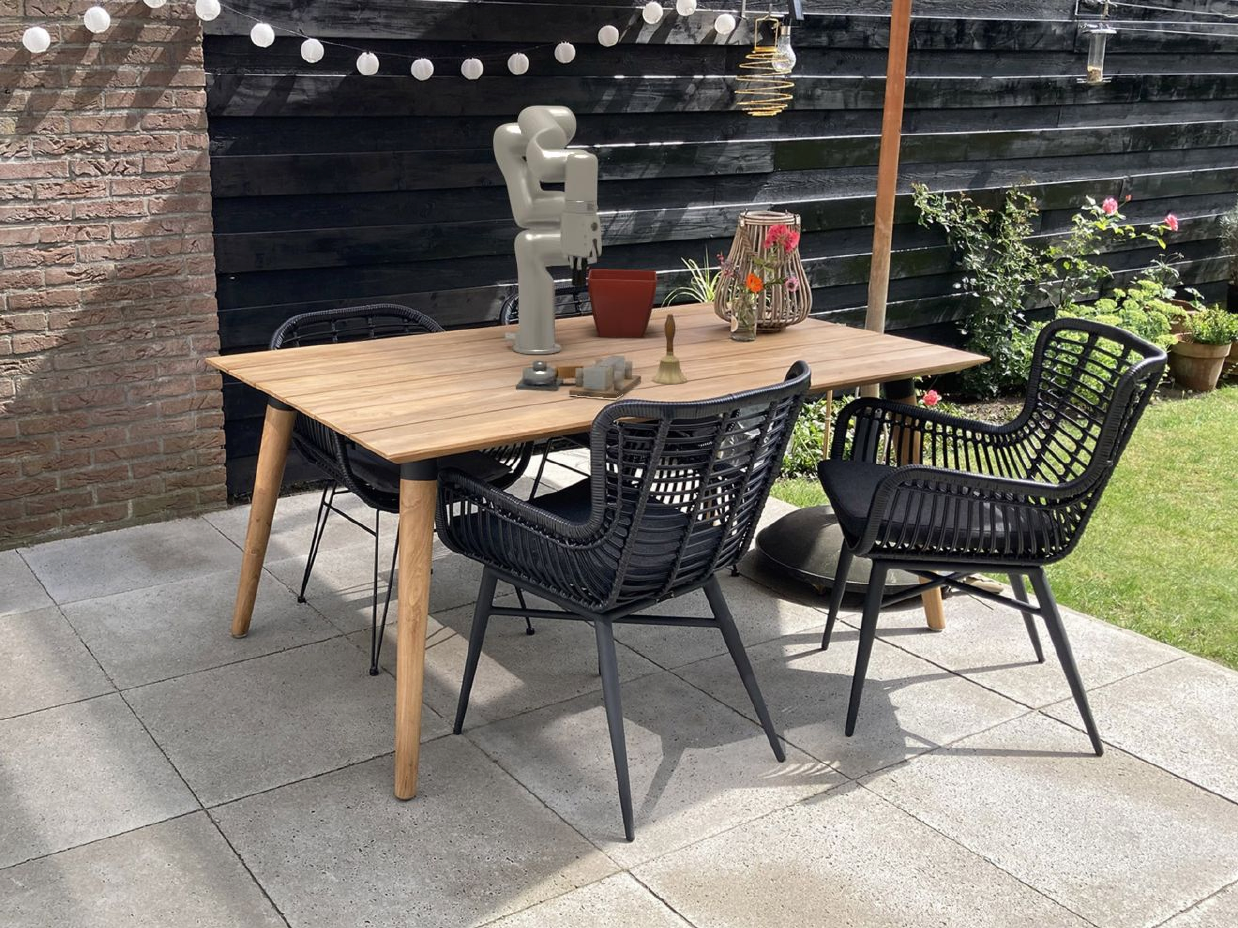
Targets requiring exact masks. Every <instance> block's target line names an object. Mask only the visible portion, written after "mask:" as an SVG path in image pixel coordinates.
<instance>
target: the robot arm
mask: <svg viewBox="0 0 1238 928" xmlns="http://www.w3.org/2000/svg"><path fill="white" fill-rule="evenodd" d="M576 120H577V119H576V117H575V115H574V112H573V111H572V110H571V109H570V108H569V107H567V106H563V105H531V106H528V107H526V108H524V109H523V110H521V112H520V113H519V115H518V118H517V122H509V123H504V124H502V125H500V126H498V127H497V128H496V129H495V132H494V134H493V140H492V141H493V143H492V144H493V151H494V156H495V160H496V163H497V165H498V168H499V169H500V171H501V173H502V175H503V177H504V180H505V183H506V187H507V191H508V196H509V200H510V201H509V202H510V205H511V206H510V207H511V210H512V215H513V218H514V221H515V224H517V226H518V227H520V228H524V229H526V230H522V231H520V232H518V234H517V235H516V237H515V239H514V254H515V259H516V265H517V277H518V278H517V279H518V280H517V281H518V287H517V288H518V331H517V332H515V333H513V332H505V333H504V340H505V341H506V342H513V343H515V344H513V346H512V350H513V351H514V352H515V353H518V354H525V355H551V354H556V353H559V352H561V350H562V346H561V344H559V343H557V342H556V284H555V280H554V279H553V277H552V275H551V274H550V273H549V272H548V271H547V268H546V267H552V266H553V267H554V266H555V267H556V266H558V267H559V266H569V267H570V269H571V286H573V287H578V288H579V287H583V286H586V285H587V272H588V271H587V270H588V269H589V268H590V267H589V266H590V265H591V264H597V262H598V258H597V257H600V256H601V255H602V250H603V249H602V245H603V243H602V242H603V241H602V228H601V220H600V215H599V214H597V213H598V212H597V211H598V209H599V207H598V204H597V203H598V202H597V201H598V169H599V167H598V165H599V162H598V158H597V156H596V155H595V154H593V153H590V152H588V151H587V150H586V149H585V150H584V149H567V148H566V149H565V147H566V146H567V145H568V144H569V143H570V142H571V141H572V139H573V138H574V136H575V133H576V129H577V121H576ZM524 157H525V158H526V160H525V159H524ZM541 182H543V183H564V191H559V190H543V188H541Z"/></svg>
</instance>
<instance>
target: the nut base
mask: <svg viewBox="0 0 1238 928" xmlns="http://www.w3.org/2000/svg"><path fill="white" fill-rule="evenodd" d="M563 383H564V378H563V379H558V378H557V381H556V382H555V383H550V384H530V383H525V382H523V377H522V378H521V379H520V380H519V381H518V383H517V384H516V385H515V390H526V391H527V390H528V391H529V390H530V391H547V392H557V391H558V390H559V389H560V387H561V386H562V384H563ZM560 385H561V386H560Z"/></svg>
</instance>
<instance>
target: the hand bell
mask: <svg viewBox="0 0 1238 928" xmlns="http://www.w3.org/2000/svg"><path fill="white" fill-rule="evenodd" d="M675 334H676V321H675V319H674V314H672V313H669V314H667V315H666V319H665V323H664V335H665V339H666V346H665V347H666V350H665V351H666V355H664V356H663V357H661V358H660V361H659V368H658V370H657V372H656V374H655V375H654V376H653V377H652V379H651V380H652V383H656V384H661V385H680V384H684V383H687V381H688V380H687V377H686V376H684V374H683V372H682V369H681V365H680V358H678V357H677V356H675V355H674V338H675V336H676V335H675Z"/></svg>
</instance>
